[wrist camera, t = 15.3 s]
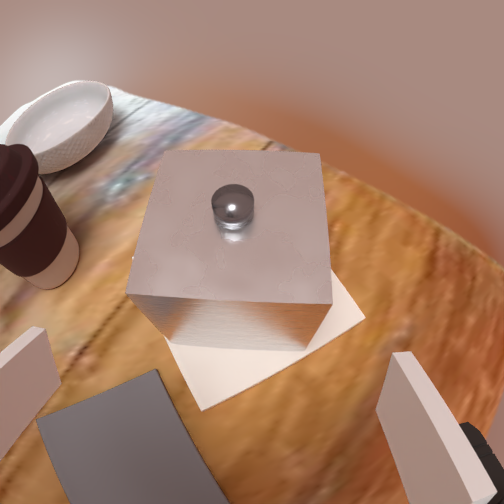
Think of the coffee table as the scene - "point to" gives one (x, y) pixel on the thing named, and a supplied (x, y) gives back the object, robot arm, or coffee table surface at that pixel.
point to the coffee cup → (32, 223)
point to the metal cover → (235, 250)
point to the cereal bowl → (64, 125)
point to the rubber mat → (128, 449)
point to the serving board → (256, 356)
